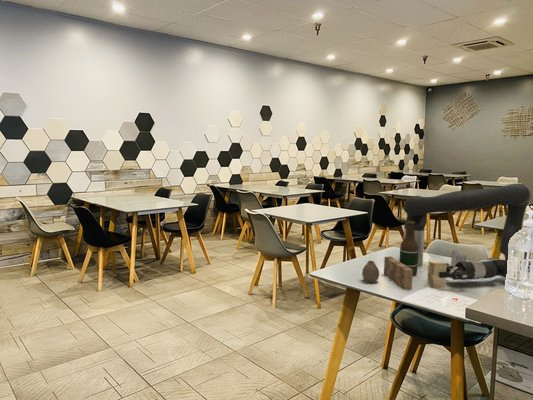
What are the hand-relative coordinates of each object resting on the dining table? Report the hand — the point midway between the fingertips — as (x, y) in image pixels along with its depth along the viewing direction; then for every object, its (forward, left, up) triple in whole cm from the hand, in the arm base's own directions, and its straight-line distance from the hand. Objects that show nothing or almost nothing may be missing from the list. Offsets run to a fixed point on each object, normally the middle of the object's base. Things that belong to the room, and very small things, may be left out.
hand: (433, 271), depth 167 cm
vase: (-9, -24, -6) cm, 26 cm away
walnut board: (-8, -12, -6) cm, 15 cm away
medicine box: (-18, +22, -6) cm, 29 cm away
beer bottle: (-17, -3, -6) cm, 18 cm away
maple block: (0, +1, -6) cm, 6 cm away
